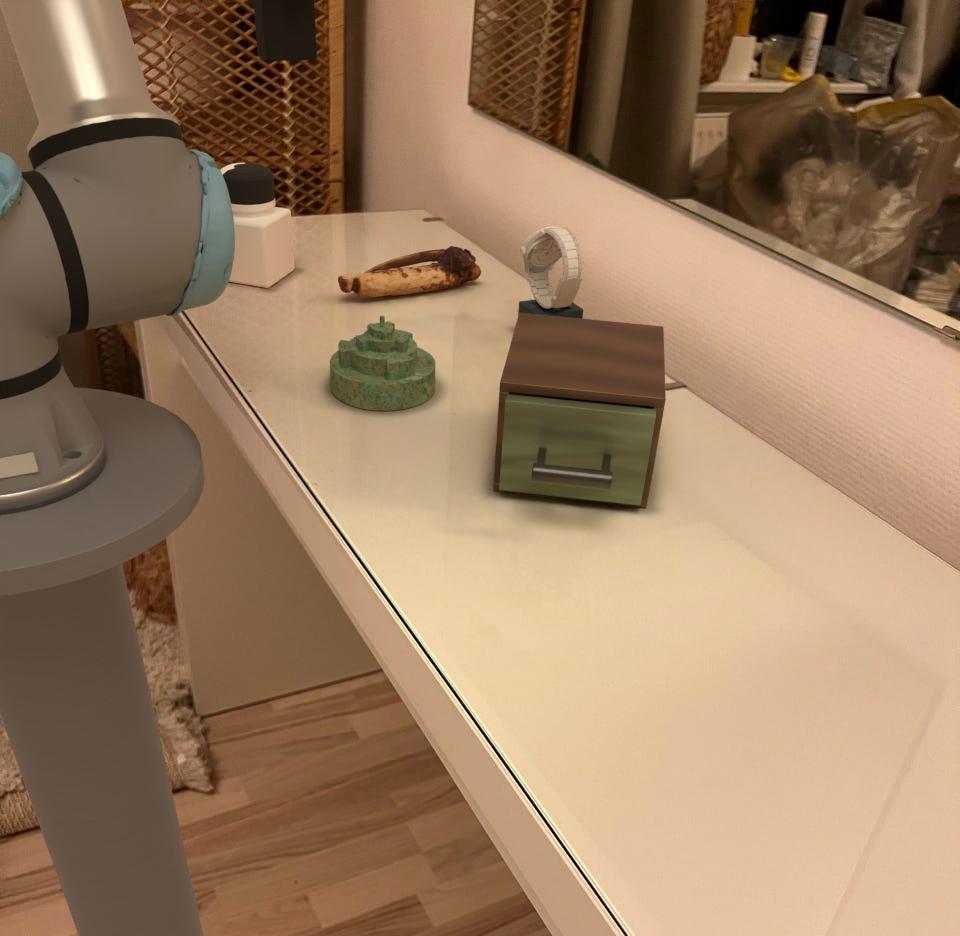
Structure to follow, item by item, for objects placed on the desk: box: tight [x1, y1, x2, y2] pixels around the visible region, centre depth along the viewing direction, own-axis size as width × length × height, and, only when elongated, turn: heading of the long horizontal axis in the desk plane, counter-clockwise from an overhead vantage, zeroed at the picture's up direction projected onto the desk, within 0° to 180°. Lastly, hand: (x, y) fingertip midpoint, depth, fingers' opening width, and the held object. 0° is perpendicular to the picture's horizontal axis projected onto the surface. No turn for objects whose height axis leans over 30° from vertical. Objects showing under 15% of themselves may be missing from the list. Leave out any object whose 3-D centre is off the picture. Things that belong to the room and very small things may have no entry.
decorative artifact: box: [329, 315, 436, 412], centre depth 93 cm, size 10×7×10 cm
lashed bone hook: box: [337, 245, 482, 298], centre depth 115 cm, size 9×5×18 cm
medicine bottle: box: [219, 162, 296, 289], centre depth 114 cm, size 7×7×12 cm
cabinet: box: [492, 313, 667, 509], centre depth 83 cm, size 15×13×10 cm
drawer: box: [499, 393, 656, 505], centre depth 80 cm, size 18×11×8 cm, turn 172°
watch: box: [517, 225, 584, 319], centre depth 105 cm, size 6×8×11 cm
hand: (287, 57), depth 51 cm, fingers closed
